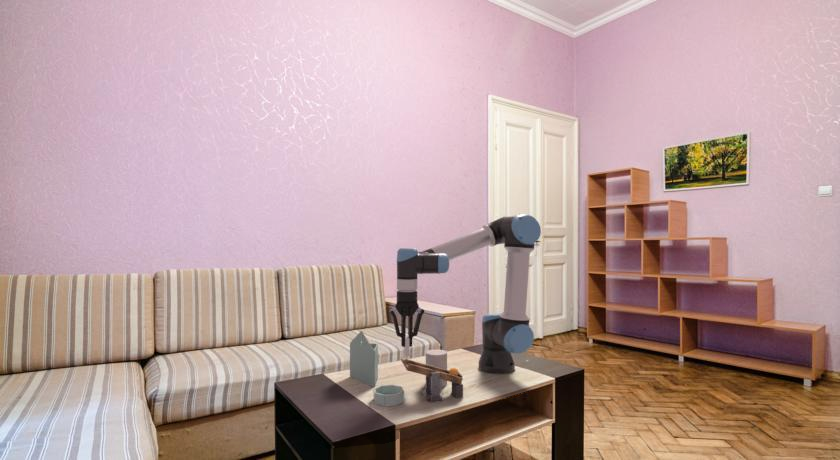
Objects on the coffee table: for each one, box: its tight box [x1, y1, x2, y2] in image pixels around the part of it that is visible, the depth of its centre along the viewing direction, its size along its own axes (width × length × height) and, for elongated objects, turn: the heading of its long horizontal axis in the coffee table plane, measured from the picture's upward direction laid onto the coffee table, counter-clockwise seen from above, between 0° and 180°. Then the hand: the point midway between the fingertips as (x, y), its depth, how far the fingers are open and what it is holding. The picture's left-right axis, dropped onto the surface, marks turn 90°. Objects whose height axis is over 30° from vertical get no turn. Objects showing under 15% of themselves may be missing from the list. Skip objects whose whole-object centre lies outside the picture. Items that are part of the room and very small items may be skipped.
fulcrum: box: [422, 365, 444, 404], centre depth 155 cm, size 5×10×10 cm, turn 12°
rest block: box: [451, 382, 464, 399], centre depth 157 cm, size 2×6×4 cm, turn 12°
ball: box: [448, 367, 460, 376], centre depth 156 cm, size 4×4×4 cm
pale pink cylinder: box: [425, 349, 448, 388], centre depth 168 cm, size 8×8×12 cm
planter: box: [349, 330, 379, 388], centre depth 173 cm, size 16×8×20 cm, turn 41°
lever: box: [400, 357, 464, 384], centre depth 158 cm, size 20×13×3 cm
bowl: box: [373, 384, 405, 407], centre depth 152 cm, size 10×10×4 cm
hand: (406, 355), depth 161 cm, fingers closed
